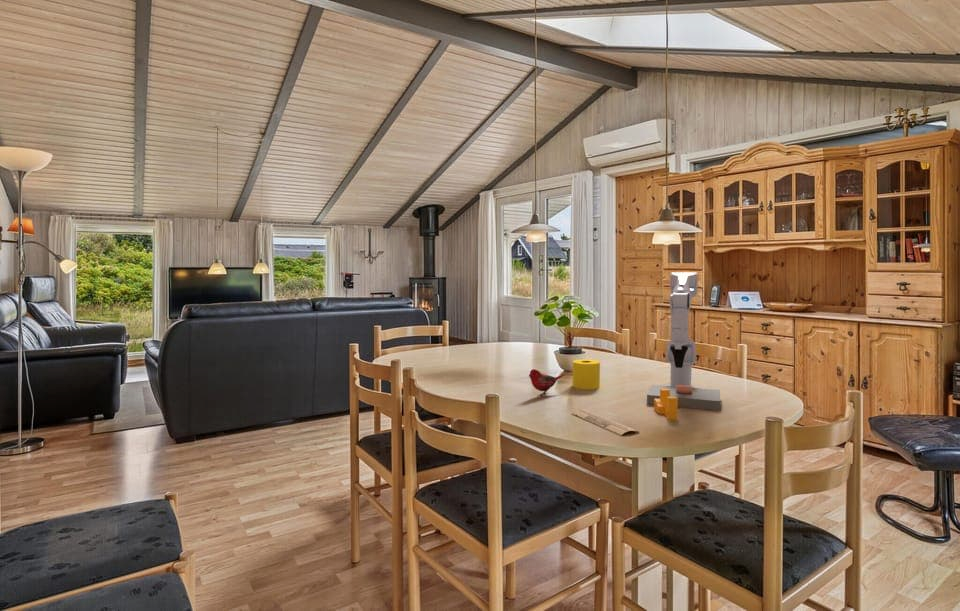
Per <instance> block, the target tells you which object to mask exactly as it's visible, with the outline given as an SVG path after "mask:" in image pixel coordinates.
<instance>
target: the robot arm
mask: <svg viewBox="0 0 960 611" xmlns="http://www.w3.org/2000/svg"><path fill="white" fill-rule="evenodd" d="M669 277H670V278H669V286H670V293H671V294H670V295H669V308H670V315H671V316H670V340H669V341H668V342H667V347H666V348H667V349H666V360H667V363H669V364H670V383H669V385H668V386H675V387H676V386H677V385H689V386H692V388H694V387H693V383H692V370H693V369H692V368H693V367H692V365H693V364H695V363H696V359H697V355H696V354H697V353H696V352H697V350H696V349H697V348H696V343H695V341H694V340H692V339H691V338H690V337H689V332H690V330H689V329H690V326H689V323H690V309H691V304H692V299H693V298H695V297H696V296H697V294H698V287H699V273H698V272H671V273H670V275H669Z"/></svg>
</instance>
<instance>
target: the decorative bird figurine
mask: <svg viewBox="0 0 960 611" xmlns="http://www.w3.org/2000/svg"><path fill="white" fill-rule="evenodd" d="M563 376H565V374H564V373H563V374H559V375H558V376H555V377H554V376H552V375H549V374H544V373H541V372H540V371H539V370H538V369H534V368H533V369H531V370H530V371H529V374H528V377H529V378H530V380H531V384H532V387H533V388H535V389H536V390H537V391H540V392H542V393H540V394H538V395H537V397H539V396H540V397H543V396H546V395H548V394H549V393H548V390H550V389H551V388H552V387H554V386H555V384H556V382H557V381H558V380H559V379H560V378H563ZM542 395H543V396H542Z"/></svg>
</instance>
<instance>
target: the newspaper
mask: <svg viewBox="0 0 960 611" xmlns="http://www.w3.org/2000/svg"><path fill="white" fill-rule="evenodd" d="M572 413H573V414H575V415H577V416H580V417H582V418H584V419H586V420H588V421H587V422H589V421H590V422H589V423H591V422H592V423H591V424H593V423H595V424H597V425H596V426H598V425H599V426H598V427H600V426H601V427H600V428H602V427H603V429H605V430H607V431H609V430H610V431H609V432H612V433H613V434H616V435H618V436H620V437H622V436H623V435H624V434H625V433H628V432H633V433H636V434H637V433H640V431H639V430H637V429H634V428H633V427H629V426H627V425H624V424H622V423H620V422H617V421H614V420H612V419H610V418H608V417H605V416H602V415H600V414H597V413H595V412H592V411H590V410H588V409H582V408H581V409H577V410H574V411H572V412H571V414H572ZM573 414H572V415H573ZM575 415H574V416H575ZM577 416H576V417H577ZM582 418H581V419H582ZM584 419H583V420H584ZM586 420H585V421H586ZM595 424H594V425H595Z"/></svg>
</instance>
